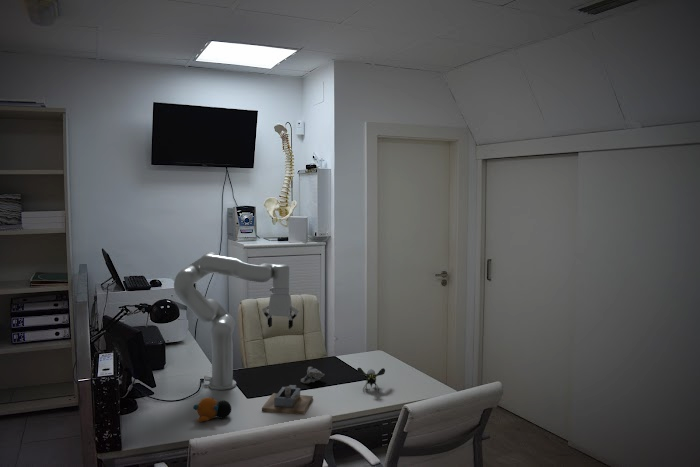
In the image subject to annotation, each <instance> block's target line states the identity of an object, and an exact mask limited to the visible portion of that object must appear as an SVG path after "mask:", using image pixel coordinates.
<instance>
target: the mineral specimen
mask: <svg viewBox="0 0 700 467" xmlns="http://www.w3.org/2000/svg"><path fill="white" fill-rule="evenodd" d="M306 373H307V374H306V375H305V376H304V377H303V378H300V382H301V383H302V384H310V383H316V381H319V380H321V378H322V377H324V376H325V373H323V372H322V371H320V370H319V369H317V368H314V367H313V366H308V367H307V370H306Z"/></svg>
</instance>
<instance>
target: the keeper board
mask: <svg viewBox="0 0 700 467" xmlns="http://www.w3.org/2000/svg"><path fill="white" fill-rule="evenodd" d="M284 387H285V397H291V387H289V385H288V386H284ZM277 394H278V392H277V393H275V392H273V393H272V394H271V395H270V396H269V398H268V399H267V401H266V402H265V403H264V404H263V406H262V407H261V412H262V413H263V412H267V413H277V414H289V415H290V414H292V415H305V413H306V412H307V411H308V409H309V407H310V405H311V403H312V401H313V396H314V395H304V394H300V398H299V400H298V401H297V403H296V404H295V406H294V408H280V407H274V398H275V396H276V395H277Z"/></svg>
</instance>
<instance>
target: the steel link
mask: <svg viewBox="0 0 700 467" xmlns="http://www.w3.org/2000/svg"><path fill="white" fill-rule="evenodd" d="M288 386H289V387H291V397H285V387H286V386H281V389H280V390H279V391H278V392H277V393H278V394H277V395H276V396H275V398H274V407H280V408H294V406H295V404H296V403H297V401H298V400H299V398H300V395H301V388H300V387H297V385H296V384H289V385H288Z"/></svg>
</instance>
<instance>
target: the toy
mask: <svg viewBox="0 0 700 467" xmlns="http://www.w3.org/2000/svg"><path fill="white" fill-rule="evenodd" d="M193 409H194V410H195V411H196V413H197V415H198V416H199V417H198V420H197V421H198V423H203V421H204V422H205V421H206V422H207V421H209V420H211V419H214V418H219V419H225V418H227V417H229V416H230V414H231V413H232V405H231V404H230V402H229V401H227V400H219V401H218V400H216V399H215V398H213V397H205V398H203V399H202V400H200V401H199V402H198V404H194V405H193Z"/></svg>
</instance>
